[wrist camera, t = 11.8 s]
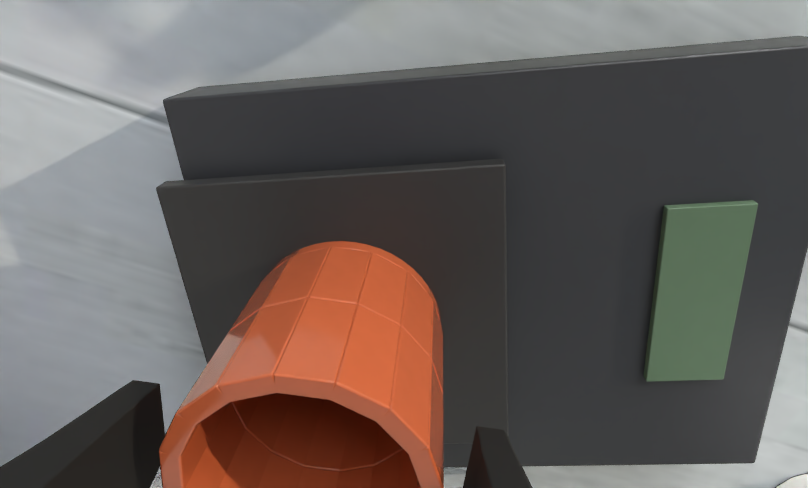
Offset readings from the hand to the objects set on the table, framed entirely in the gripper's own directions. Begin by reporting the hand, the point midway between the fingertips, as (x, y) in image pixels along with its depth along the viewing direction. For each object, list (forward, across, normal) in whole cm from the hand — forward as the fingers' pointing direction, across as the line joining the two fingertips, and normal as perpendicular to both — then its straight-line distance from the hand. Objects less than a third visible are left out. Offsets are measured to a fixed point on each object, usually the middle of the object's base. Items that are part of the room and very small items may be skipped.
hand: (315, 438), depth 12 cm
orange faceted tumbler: (+4, 0, 0) cm, 5 cm away
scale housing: (+8, -4, -1) cm, 9 cm away
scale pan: (+5, 0, 0) cm, 5 cm away
